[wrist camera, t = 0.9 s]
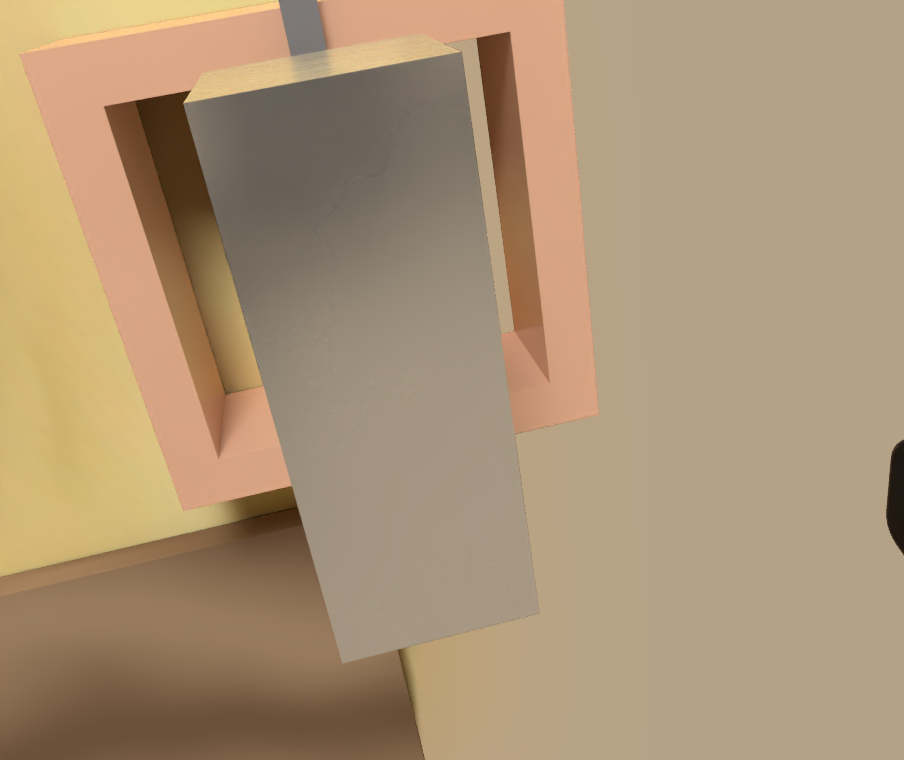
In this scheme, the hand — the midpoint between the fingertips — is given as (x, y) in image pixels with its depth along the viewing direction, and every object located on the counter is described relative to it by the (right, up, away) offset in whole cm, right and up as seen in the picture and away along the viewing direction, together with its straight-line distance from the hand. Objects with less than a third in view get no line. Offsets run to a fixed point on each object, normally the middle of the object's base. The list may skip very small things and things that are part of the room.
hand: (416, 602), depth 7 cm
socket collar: (-2, +5, +11) cm, 13 cm away
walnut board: (-7, -8, +17) cm, 19 cm away
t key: (-2, +5, +11) cm, 13 cm away
